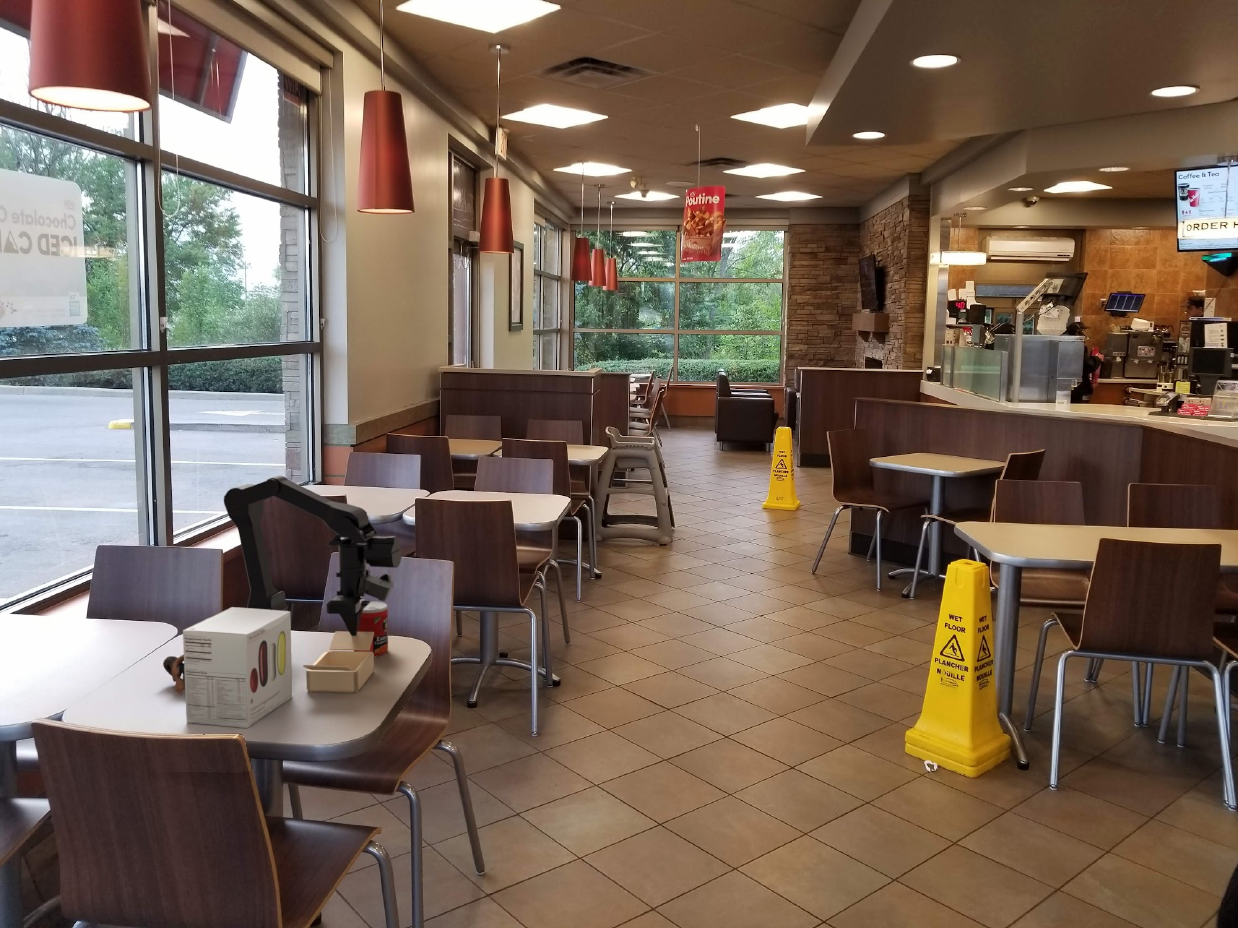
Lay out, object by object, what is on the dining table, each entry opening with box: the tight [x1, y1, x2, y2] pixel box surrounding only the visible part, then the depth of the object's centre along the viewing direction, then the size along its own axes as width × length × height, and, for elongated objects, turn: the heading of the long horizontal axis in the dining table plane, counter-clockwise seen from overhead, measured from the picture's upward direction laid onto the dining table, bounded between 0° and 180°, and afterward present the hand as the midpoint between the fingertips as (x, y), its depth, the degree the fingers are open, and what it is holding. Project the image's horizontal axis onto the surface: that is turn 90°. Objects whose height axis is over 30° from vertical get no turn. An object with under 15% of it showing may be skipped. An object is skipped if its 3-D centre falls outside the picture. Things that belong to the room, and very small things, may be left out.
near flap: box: [302, 664, 353, 671], centre depth 199 cm, size 9×5×1 cm, turn 89°
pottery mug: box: [162, 653, 185, 695], centre depth 204 cm, size 12×10×8 cm
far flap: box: [329, 630, 374, 651], centre depth 216 cm, size 9×5×1 cm
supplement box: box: [182, 606, 293, 729], centre depth 191 cm, size 17×13×18 cm
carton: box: [305, 650, 375, 694], centre depth 208 cm, size 11×13×4 cm
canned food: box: [353, 601, 389, 657], centre depth 227 cm, size 8×8×11 cm
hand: (353, 635), depth 217 cm, fingers closed, pressing on far flap
